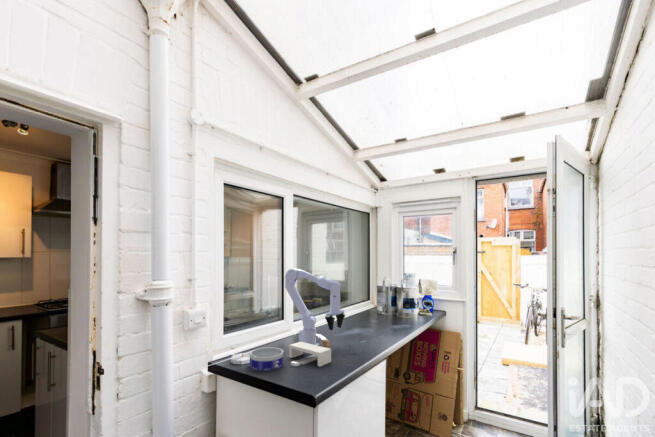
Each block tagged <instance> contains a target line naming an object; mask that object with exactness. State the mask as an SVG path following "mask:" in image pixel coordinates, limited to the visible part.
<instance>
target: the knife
mask: <svg viewBox="0 0 655 437" xmlns="http://www.w3.org/2000/svg"><path fill="white" fill-rule="evenodd" d="M316 337H317V339H320V340H321V341H322V340H324V339H325V340H328V338H326V337H325V336H324V335H322V334H321V333H316Z"/></svg>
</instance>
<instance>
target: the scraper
mask: <svg viewBox="0 0 655 437" xmlns="http://www.w3.org/2000/svg"><path fill="white" fill-rule="evenodd" d="M331 344H332V341H331V340H330V339H327V340H325V339H324V340H321V347H325V348H330V349H331V350H332V345H331ZM296 361H300V362H301V365H302V366H304V365H308V364H310V363H312V362H315V361H318V356H317V355H313V354H310V355H308V356H305V357H302V358H300V359H297V360H296ZM301 365H300V366H301Z"/></svg>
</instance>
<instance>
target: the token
mask: <svg viewBox="0 0 655 437" xmlns="http://www.w3.org/2000/svg"><path fill="white" fill-rule="evenodd" d="M290 366H291V367H295V368H297V367H300V366H301V362H300V361H297V360H292V361H290Z"/></svg>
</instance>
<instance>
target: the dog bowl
mask: <svg viewBox="0 0 655 437" xmlns="http://www.w3.org/2000/svg"><path fill="white" fill-rule="evenodd" d="M283 365H284V349H282V348H279V347H274V346H273V347H272V346H269V347H265V346H264V347H260V348H259V347H258V348H256V349H253V350H251V351H250V352H249V368H250V369H252V370H254V371H258V372H269V371H274V370H278V369H280V368H282V366H283Z"/></svg>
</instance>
